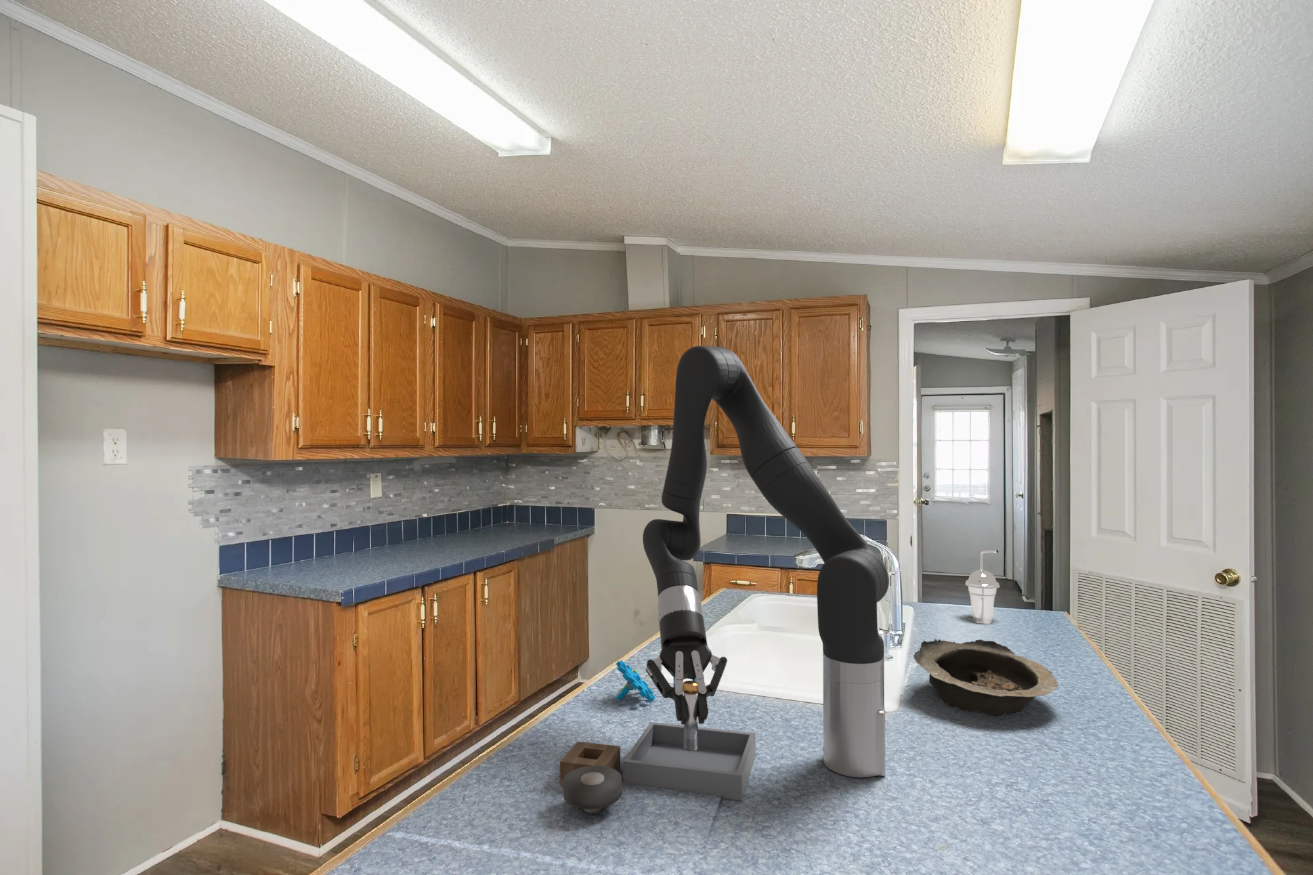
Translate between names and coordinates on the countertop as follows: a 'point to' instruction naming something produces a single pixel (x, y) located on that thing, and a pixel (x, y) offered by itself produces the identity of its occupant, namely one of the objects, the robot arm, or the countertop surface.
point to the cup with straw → (982, 592)
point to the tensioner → (591, 776)
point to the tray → (692, 760)
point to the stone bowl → (983, 676)
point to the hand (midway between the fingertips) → (693, 721)
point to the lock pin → (691, 715)
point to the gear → (633, 682)
